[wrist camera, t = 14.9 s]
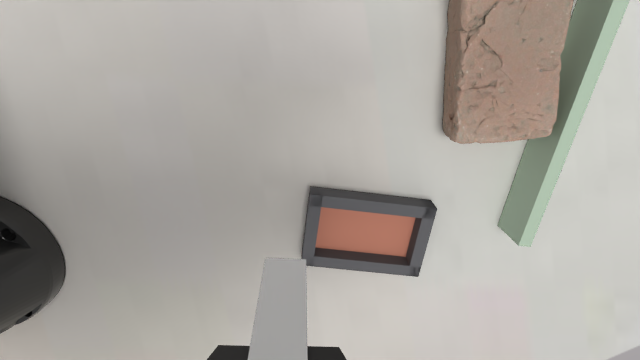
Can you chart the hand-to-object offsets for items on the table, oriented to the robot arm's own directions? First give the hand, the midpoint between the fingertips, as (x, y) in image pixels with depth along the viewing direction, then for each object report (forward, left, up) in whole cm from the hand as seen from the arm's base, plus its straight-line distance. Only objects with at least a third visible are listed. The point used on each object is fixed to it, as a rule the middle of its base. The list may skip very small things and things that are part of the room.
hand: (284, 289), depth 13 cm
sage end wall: (+22, +8, -21) cm, 32 cm away
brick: (+15, +11, -22) cm, 29 cm away
